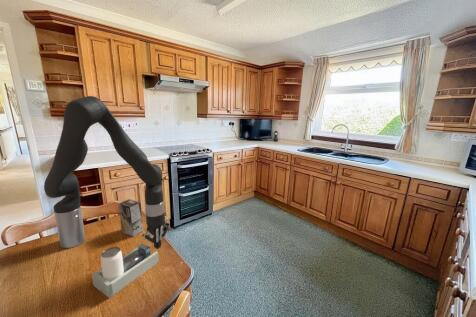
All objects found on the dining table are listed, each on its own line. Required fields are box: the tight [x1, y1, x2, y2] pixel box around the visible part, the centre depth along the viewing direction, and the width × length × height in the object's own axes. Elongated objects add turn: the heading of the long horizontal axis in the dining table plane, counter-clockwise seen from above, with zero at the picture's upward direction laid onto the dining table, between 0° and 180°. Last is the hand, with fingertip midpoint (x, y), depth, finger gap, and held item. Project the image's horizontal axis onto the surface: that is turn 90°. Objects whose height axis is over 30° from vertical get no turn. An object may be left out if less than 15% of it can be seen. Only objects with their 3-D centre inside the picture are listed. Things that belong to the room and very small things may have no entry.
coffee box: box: [118, 199, 144, 237], centre depth 104 cm, size 9×6×16 cm
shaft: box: [123, 243, 152, 273], centre depth 80 cm, size 5×10×6 cm, turn 150°
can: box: [100, 246, 124, 282], centre depth 72 cm, size 6×6×12 cm
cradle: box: [91, 247, 160, 299], centre depth 78 cm, size 10×20×5 cm, turn 150°
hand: (157, 247), depth 90 cm, fingers closed
